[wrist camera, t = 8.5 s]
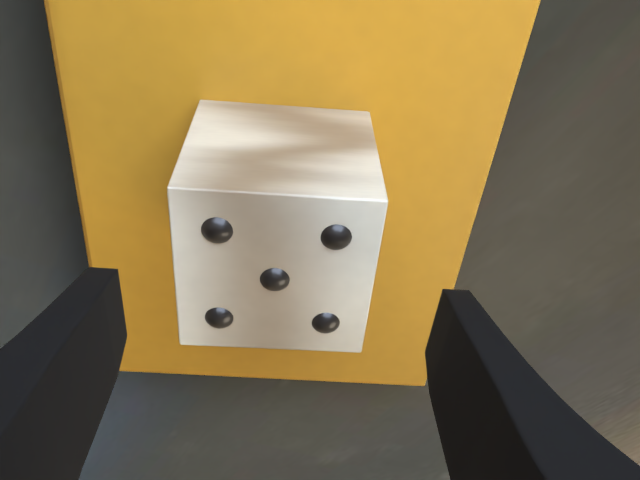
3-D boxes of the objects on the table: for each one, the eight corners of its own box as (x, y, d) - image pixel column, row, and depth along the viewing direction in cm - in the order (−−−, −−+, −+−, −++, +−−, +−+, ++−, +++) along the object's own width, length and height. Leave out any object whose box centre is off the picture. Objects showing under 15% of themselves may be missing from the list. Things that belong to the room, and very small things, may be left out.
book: (528, -76, 17) (559, -61, 15) (415, 341, 27) (424, 386, 25) (59, -127, 16) (22, -118, 14) (122, 325, 26) (106, 370, 24)
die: (369, 110, 17) (390, 205, 13) (350, 246, 20) (362, 358, 16) (199, 98, 17) (164, 191, 13) (204, 237, 20) (177, 351, 16)
